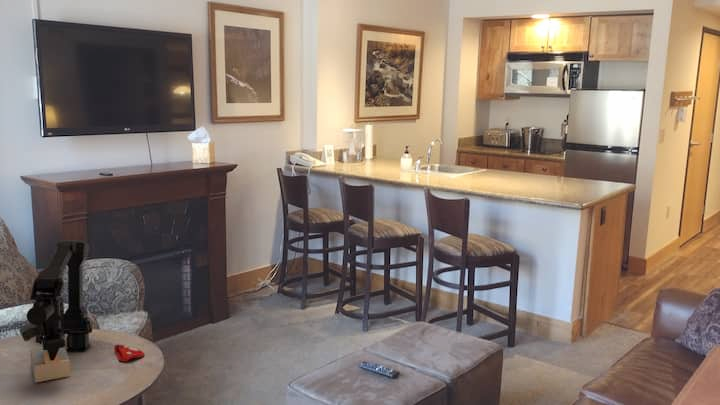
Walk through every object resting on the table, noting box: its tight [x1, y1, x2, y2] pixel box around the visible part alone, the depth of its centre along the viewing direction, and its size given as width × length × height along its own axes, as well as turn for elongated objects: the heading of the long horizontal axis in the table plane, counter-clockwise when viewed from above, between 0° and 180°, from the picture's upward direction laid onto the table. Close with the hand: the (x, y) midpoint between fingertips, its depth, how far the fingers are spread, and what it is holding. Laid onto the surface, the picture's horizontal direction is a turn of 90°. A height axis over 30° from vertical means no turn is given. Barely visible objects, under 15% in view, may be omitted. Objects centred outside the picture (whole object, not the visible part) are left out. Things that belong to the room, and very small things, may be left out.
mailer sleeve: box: [29, 346, 70, 381], centre depth 201 cm, size 14×10×6 cm
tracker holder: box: [112, 343, 145, 363], centre depth 214 cm, size 12×4×10 cm
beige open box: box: [34, 350, 71, 383], centre depth 200 cm, size 14×10×10 cm
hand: (52, 359), depth 194 cm, fingers closed, pressing on beige open box
